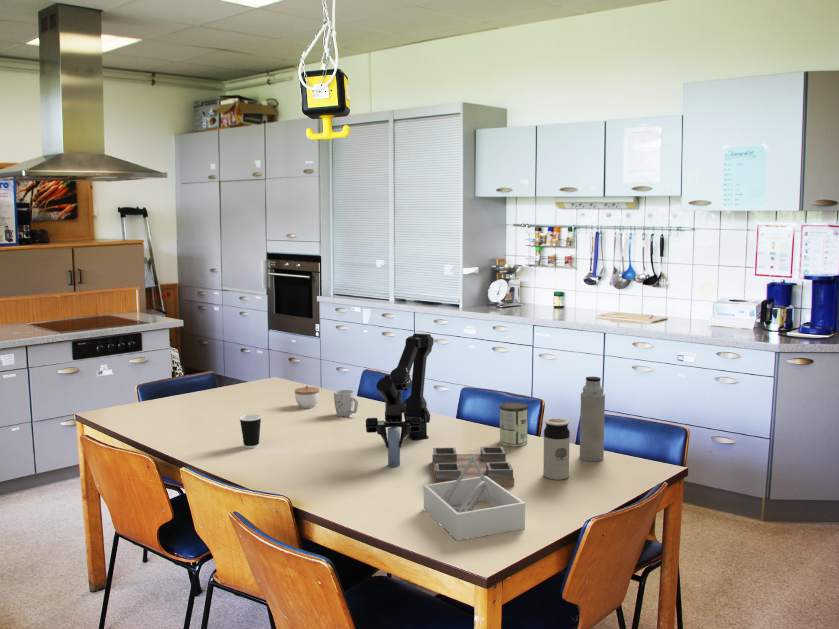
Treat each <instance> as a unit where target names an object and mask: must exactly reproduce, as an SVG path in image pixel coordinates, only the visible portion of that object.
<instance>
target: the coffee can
mask: <svg viewBox="0 0 839 629" xmlns="http://www.w3.org/2000/svg"><path fill="white" fill-rule="evenodd" d="M528 409H529V405H528V404H527V403H525V402H520V401H507V402H501V403H499V443H500V444H501V445H503V446H506V447H523V446H525V445H527V444H528Z"/></svg>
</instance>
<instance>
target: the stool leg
mask: <svg viewBox="0 0 839 629" xmlns="http://www.w3.org/2000/svg"><path fill="white" fill-rule="evenodd" d="M400 428H401V427H387V440H388V448H387V465H388V466H387V467H389V466H390V467H389V468H398V466H399V467H400V466H401V448H400V436H401V429H400Z"/></svg>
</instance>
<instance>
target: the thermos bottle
mask: <svg viewBox="0 0 839 629" xmlns="http://www.w3.org/2000/svg"><path fill="white" fill-rule="evenodd" d="M601 378H602V377H599V376H586V377H585V385H584V386H583V387H582V392H580V412H579V413H580V416H579V417H580V418H579V420H580V424H579V429H580V430H579V459H581V460H583V461H586V462H600V461H603V460H604V458H605V456H604V454H605V453H604V452H605V451H604V449H605V447H604V446H605V413H606V412H605V409H606V408H605V407H606V405H605V403H606V394H605V393H604V387H603V386H601Z"/></svg>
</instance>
